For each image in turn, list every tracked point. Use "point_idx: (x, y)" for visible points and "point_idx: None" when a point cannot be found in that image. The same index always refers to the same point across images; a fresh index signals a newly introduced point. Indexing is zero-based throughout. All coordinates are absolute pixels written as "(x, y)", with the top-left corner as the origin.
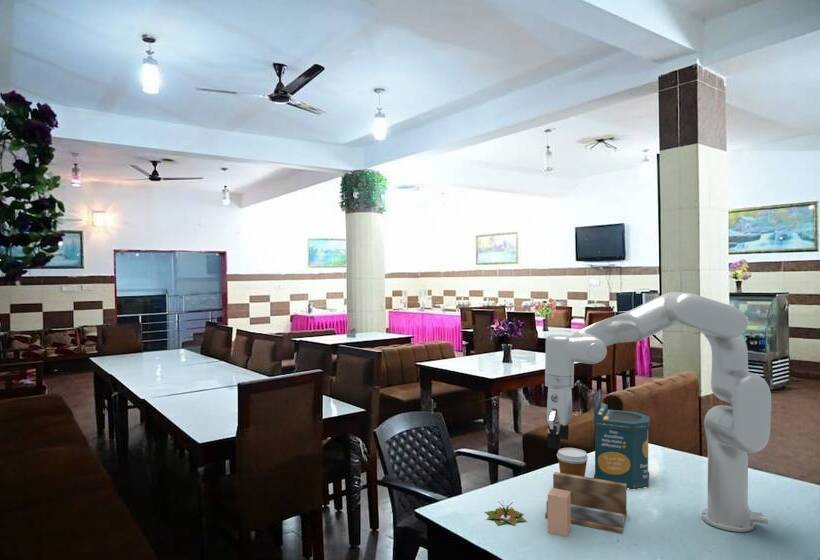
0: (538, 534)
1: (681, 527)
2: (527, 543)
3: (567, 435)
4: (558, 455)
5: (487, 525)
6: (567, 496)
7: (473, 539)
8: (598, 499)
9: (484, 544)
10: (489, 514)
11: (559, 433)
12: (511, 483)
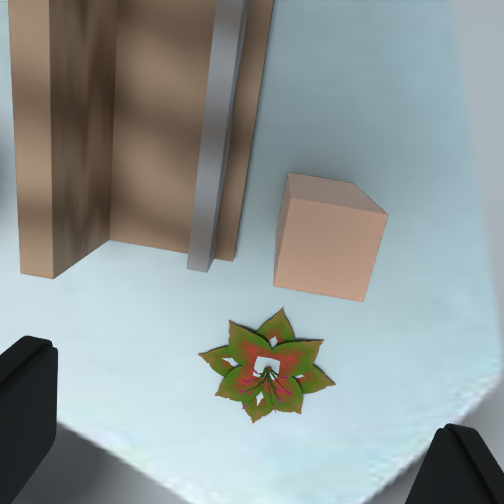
0: None
1: None
2: (429, 298)
3: (26, 373)
4: None
5: (337, 407)
6: (366, 212)
7: (432, 430)
8: (96, 58)
9: (456, 403)
10: (270, 410)
11: (19, 463)
12: None
